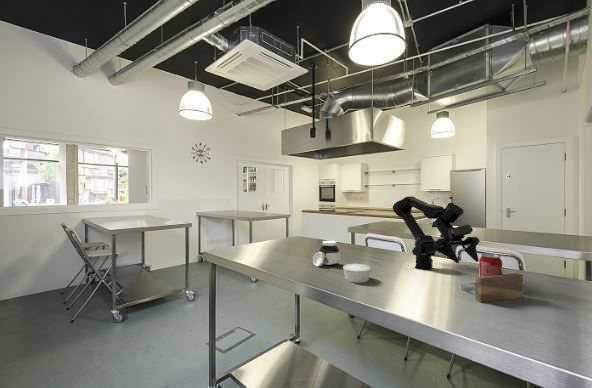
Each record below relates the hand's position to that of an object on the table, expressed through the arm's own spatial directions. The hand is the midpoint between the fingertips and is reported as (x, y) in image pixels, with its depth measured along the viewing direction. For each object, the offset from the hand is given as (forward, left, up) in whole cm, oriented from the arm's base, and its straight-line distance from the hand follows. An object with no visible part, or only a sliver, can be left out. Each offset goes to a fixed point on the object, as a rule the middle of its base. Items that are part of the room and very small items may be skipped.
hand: (468, 262), depth 106 cm
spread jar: (-59, -12, -10) cm, 61 cm away
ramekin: (-37, -21, -10) cm, 44 cm away
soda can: (+8, -4, -8) cm, 11 cm away
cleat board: (+6, -4, -9) cm, 12 cm away
